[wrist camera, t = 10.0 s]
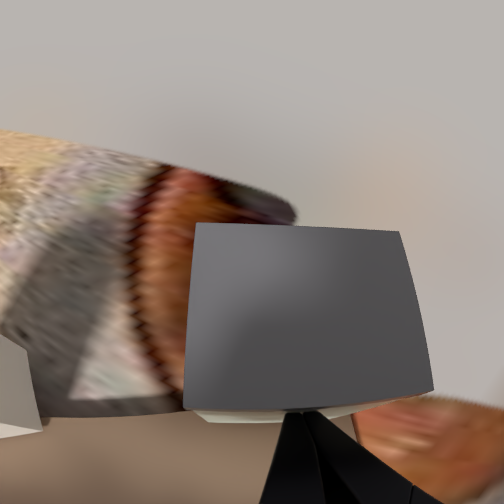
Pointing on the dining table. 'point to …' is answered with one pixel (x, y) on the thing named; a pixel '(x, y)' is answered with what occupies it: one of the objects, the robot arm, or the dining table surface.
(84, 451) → the tan wooden board
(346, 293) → the pale green cabinet
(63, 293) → the dining table surface
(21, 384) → the white toy cabinet
